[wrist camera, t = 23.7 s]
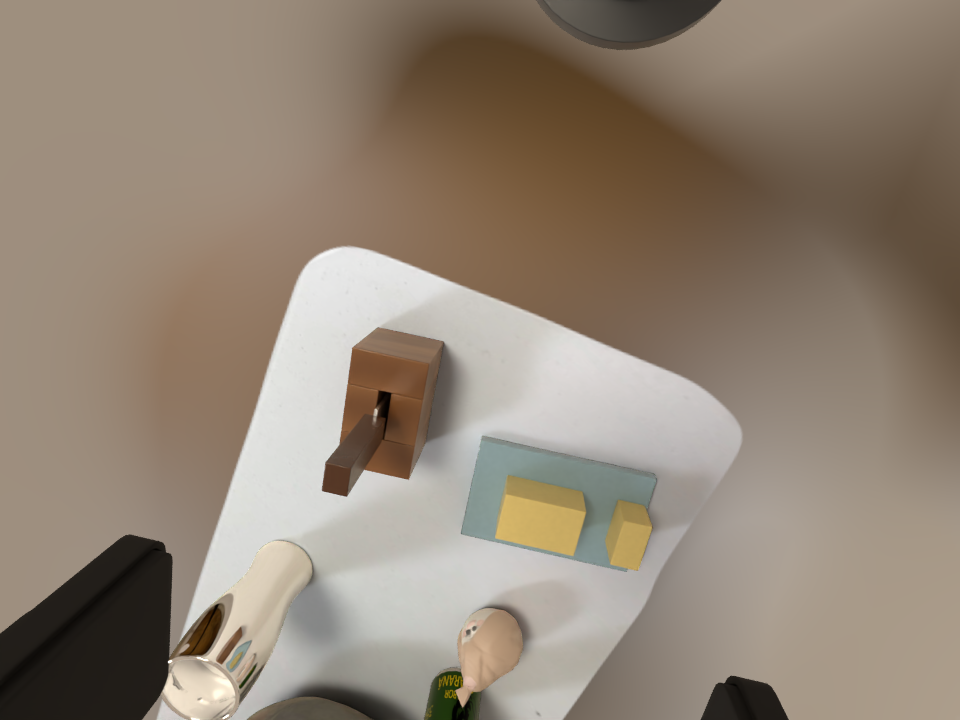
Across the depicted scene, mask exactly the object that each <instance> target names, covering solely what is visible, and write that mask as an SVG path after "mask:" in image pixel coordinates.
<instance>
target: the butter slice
mask: <svg viewBox="0 0 960 720" xmlns="http://www.w3.org/2000/svg"><path fill="white" fill-rule="evenodd" d="M652 528H653V527H652V524H651V521H650V519H649V516H648V513H647V511H646V508H645V506H644V505H640V504H636V503H631V502H627V501H622V500H617V504H616V507H615V510H614V513H613V517H612V520H611V523H610V526H609V529H608V533H607V536H606V539H605V543H606V548H607V552H608V557H609V562H610V564H611V565H614V566H619V567H623V568H628V569H632V570H636V571H638V569H639V567H640V564H641V561H642V558H643V555H644V552H645V549H646V546H647V543H648V540H649V537H650V534H651V531H652Z"/></svg>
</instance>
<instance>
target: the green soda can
mask: <svg viewBox="0 0 960 720" xmlns="http://www.w3.org/2000/svg"><path fill="white" fill-rule="evenodd" d="M462 687H463V677H462V673H461V668H448V669H444V670H443V671H441V672H440V673H439V674H438V675H437V676H436V677H435V679H434V680H433V682H432V684H431V689H430V694H429V698H428V703H427V708H426V713H425V717H424V720H478V719H479V710H480V700H481V691H480V692H473V691H472V692H471V694H470V696H469V699H468V701H467V702H466V704H465V705H464V707H463V708H462V705H461V703H460V701H459V698H458V696H457V693H456V691H455V690H457V689H459V688H462Z"/></svg>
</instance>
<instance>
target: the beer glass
mask: <svg viewBox="0 0 960 720" xmlns="http://www.w3.org/2000/svg"><path fill="white" fill-rule="evenodd" d="M312 573H313V568H312V563H311V561H310V558H309V557H308V555H307V554H306V553H305V552H304V551H303V550H302V549H301V548H300V547H298V546H297V545H295V544H293V543H290V542H286V541H273V542H269V543H267V544H265V545H264V546H262V547H261V548H260V549H259V551H258V552H257V554H256V556H255V558H254V560H253V562H252V565H251V567H250V568H249V570H248V571H247V573H246V574H245V575H244V576H243V577H242V578H241V579H240V580H239V581H238V582H237V583H236V584H235V585H233V586H232V587H231V588H230V589H229V590H228V591H226V592H225V593H224V594H223V595H222V596H221V597H219V598H218V599H217V600H216V601H215V602H214V603H213V604H212V605H211V606H210V607H209V608H208V609H206V610H205V611H204V612H203V614H202V615H201V616H200V617H199V618H198V619H197V620H196V622H195V623H194V624H193V625H192V626H191V628H190V629H189V630H188V632H187V633H186V634H185V636H184V637H183V638H182V640H181V641H180V643H179V644H178V646H177V647H176V649H175V650H174V651H173V653H172V654H171V656H170V657H169V673H168V678H167V682H166V684H165V687H164V689H163V691H162V693H161V697H162V699H163V701H164V702H165V703H166V705H167V706H168V707H169V708H170V709H171V710H172V711H174V712H175V713H176V714H178V715H179V716H181V717H183V718H184V719H187V720H227V719H229V718H230V717H231V716H233V714H234V713H235V712H236V710H237V709H238V707H239V705H240V704H241V702H242V701H243V699H244V698H245V697H246V695H247V694H248V692H249V691H250V690H251V688H252V687H253V685H254V684H255V682H256V681H257V679H258V677H259V676H260V674H261V673H262V671H263V669H264V668H265V666H266V664H267V662H268V660H269V658H270V657H271V655H272V653H273V650H274V648H275V645H276V643H277V641H278V638H279V635H280V633H281V630H282V627H283V624H284V621H285V618H286V615H287V613H288V610H289V607H290V605H291V604H292V602H293V600H294V599H295V598H296V596H297V595H298V594H299V593H300V592H301V591H302V590H303V589H304V588H305V587H306V586H307V584H308V583H309V582H310V580H311V577H312Z"/></svg>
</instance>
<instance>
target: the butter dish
mask: <svg viewBox="0 0 960 720" xmlns="http://www.w3.org/2000/svg"><path fill="white" fill-rule="evenodd" d="M507 475H511V476H515V477H520V478H524V479H528V480H533V481H537V482H542V483H546V484H551V485H555V486H560V487H564V488H569V489H573V490H578V491H582V492H583V496H584V502H585V508H586V516H585V519H584V522H583V526H582V529H581V533H580V536H579V540H578V543H577V546H576V550H575V553H574V556H570V555H566V554H561V553H557V552H553V551H548V550H544V549H539V548H535V547H531V546H526V545H522V544H518V543H513V542H509V541H504V540H500V539H496V538H495V534H496V525H497V517H498V512H499V508H500V504H501V500H502V495H503V491H504V487H505V483H506V479H507ZM656 481H657V478H656V476H655V474H652V473H647V472H643V471H638V470H634V469H629V468H625V467H620V466H616V465H611V464H607V463H602V462H598V461H593V460H589V459H584V458H580V457H575V456H570V455H566V454H561V453H557V452H552V451H548V450H543V449H539V448H534V447H530V446H525V445H521V444H516V443H512V442H507V441H503V440H498V439H494V438H489V437H485V436H482V438H481V443H480V448H479V452H478V457H477V461H476V466H475V471H474V475H473V480H472V485H471V489H470V494H469V498H468V503H467V508H466V512H465V517H464V521H463V526H462V531H461V534H463V535H467V536H471V537H476V538H480V539H485V540H489V541H493V542H498V543H502V544H506V545H511V546H515V547H519V548H524V549H528V550H533V551H537V552H541V553H546V554H550V555H554V556H559V557H563V558H568V559H572V560H576V561H581V562H585V563H589V564H594V565H598V566H603V567H607V568H611V569H616V570H620V571H624V572H627V569H628V568H623V567H619V566H614V565H611V564H610V562H609V557H608V552H607V548H606V543H605V539H606V536H607V533H608V529H609V526H610V523H611V520H612V517H613V513H614V510H615V507H616V504H617V500H622V501H627V502H631V503H636V504H640V505H644V506H645V508H646V511H647V508H648V505H649V502H650V499H651V496H652V493H653V490H654V487H655V484H656Z"/></svg>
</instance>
